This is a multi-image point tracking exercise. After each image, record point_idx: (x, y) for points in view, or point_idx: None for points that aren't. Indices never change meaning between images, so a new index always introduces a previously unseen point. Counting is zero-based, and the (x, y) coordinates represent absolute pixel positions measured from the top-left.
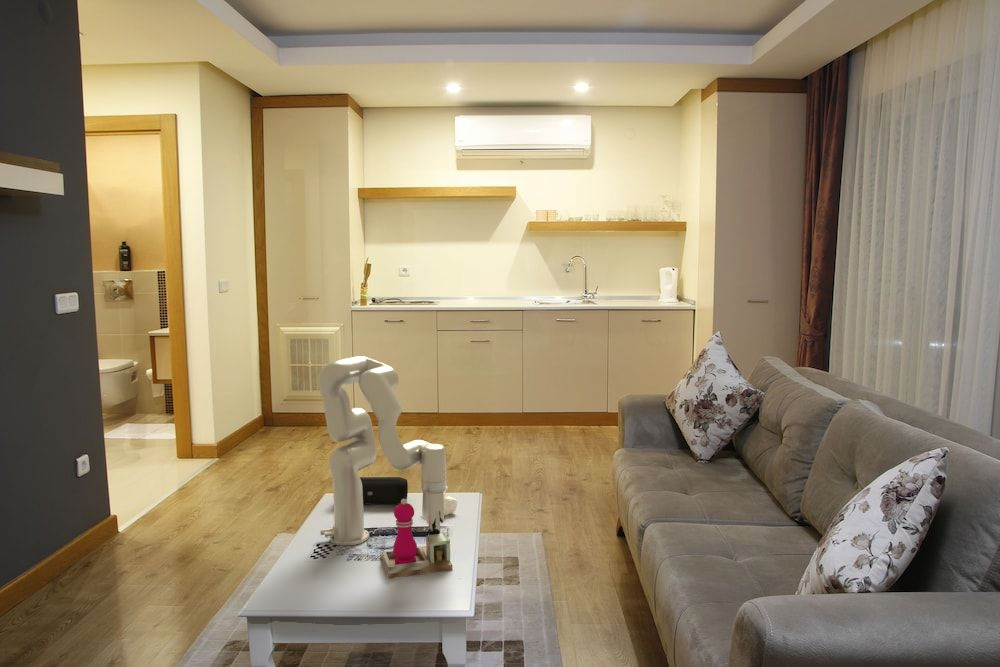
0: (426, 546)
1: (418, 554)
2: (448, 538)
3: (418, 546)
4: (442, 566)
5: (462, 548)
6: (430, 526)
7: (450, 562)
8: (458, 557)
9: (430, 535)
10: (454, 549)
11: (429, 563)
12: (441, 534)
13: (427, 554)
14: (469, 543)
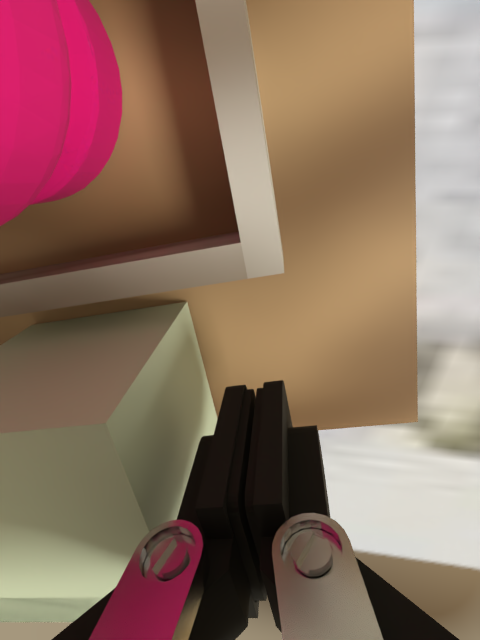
0: (151, 342)
1: (230, 229)
2: (19, 620)
3: (271, 245)
4: None
5: (360, 516)
6: (178, 610)
7: None
8: None
9: (108, 477)
10: (358, 476)
11: (39, 315)
12: None
13: (137, 318)
14: (427, 558)
